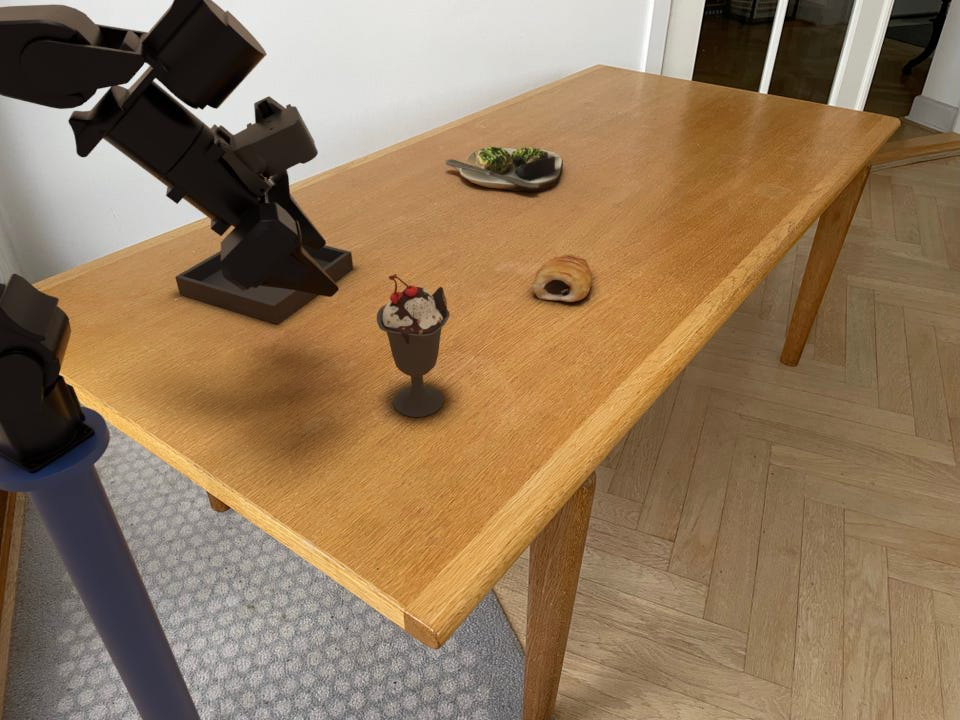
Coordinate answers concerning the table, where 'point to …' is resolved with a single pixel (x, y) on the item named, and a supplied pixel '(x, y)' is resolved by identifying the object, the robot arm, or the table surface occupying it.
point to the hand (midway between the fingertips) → (328, 268)
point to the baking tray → (262, 300)
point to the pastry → (563, 279)
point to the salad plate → (511, 168)
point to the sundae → (415, 343)
